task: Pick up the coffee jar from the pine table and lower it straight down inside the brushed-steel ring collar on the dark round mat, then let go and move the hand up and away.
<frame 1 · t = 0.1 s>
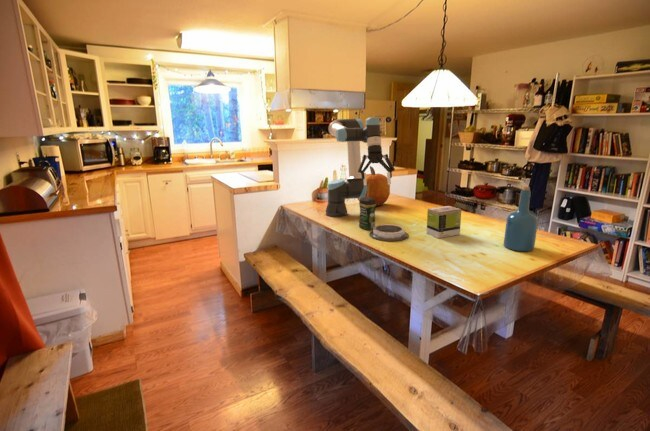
hand: (377, 184, 182), 28 cm above the table, tool tilted 20°, fingers open, 13 cm apart
wine bottle: (518, 248, 164), on the table
ring collar: (388, 235, 186), on the table
coffee jar: (367, 228, 201), on the table
pumpkin: (372, 205, 258), on the table
tea box: (442, 234, 186), on the table
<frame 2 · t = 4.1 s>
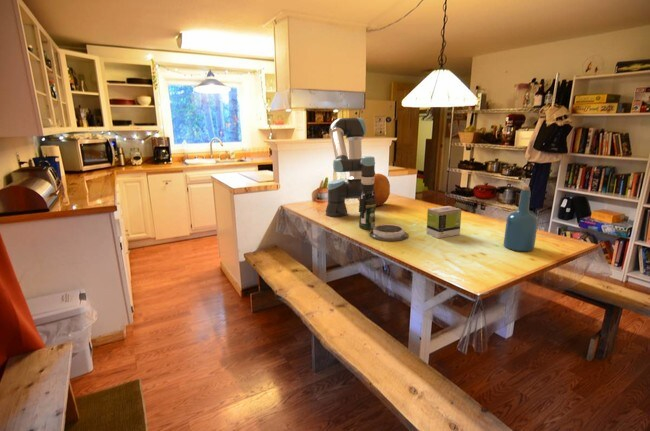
hand: (367, 221, 200), 4 cm above the table, tool pointing down, fingers closed on coffee jar, 8 cm apart
coffee jar: (367, 228, 201), on the table, touching gripper
everything else where it was.
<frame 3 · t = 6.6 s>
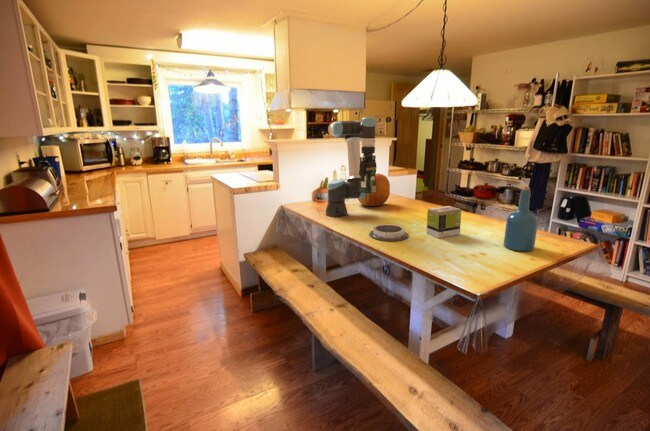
hand: (367, 185, 194), 25 cm above the table, tool pointing down, fingers closed on coffee jar, 8 cm apart
coffee jar: (367, 192, 195), point 21 cm above the table, touching gripper
everything else where it was.
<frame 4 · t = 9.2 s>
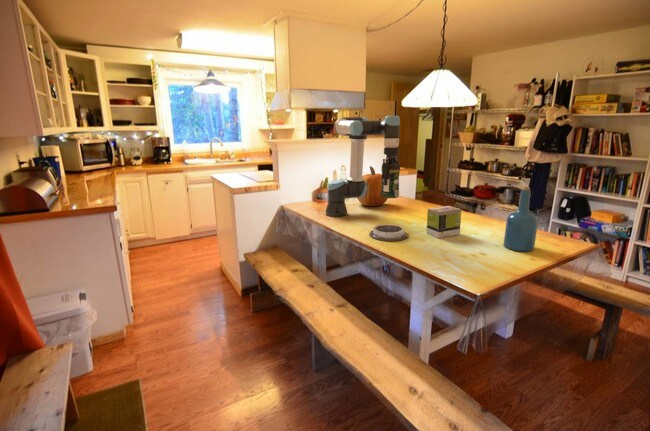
hand: (390, 190, 180), 25 cm above the table, tool pointing down, fingers closed on coffee jar, 8 cm apart
coffee jar: (389, 197, 181), point 21 cm above the table, touching gripper
everything else where it was.
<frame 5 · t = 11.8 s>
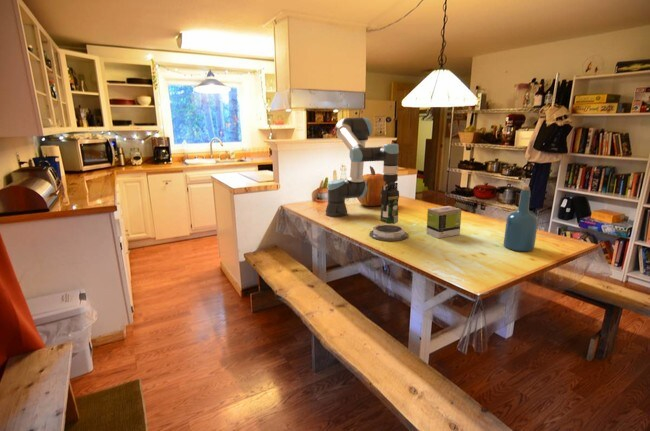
hand: (389, 215, 183), 11 cm above the table, tool pointing down, fingers closed on coffee jar, 8 cm apart
coffee jar: (389, 222, 184), point 7 cm above the table, touching gripper
everything else where it was.
when the fingers open (6 cm above the table, at t = 14.3 s): coffee jar drops 1 cm, resting on ring collar.
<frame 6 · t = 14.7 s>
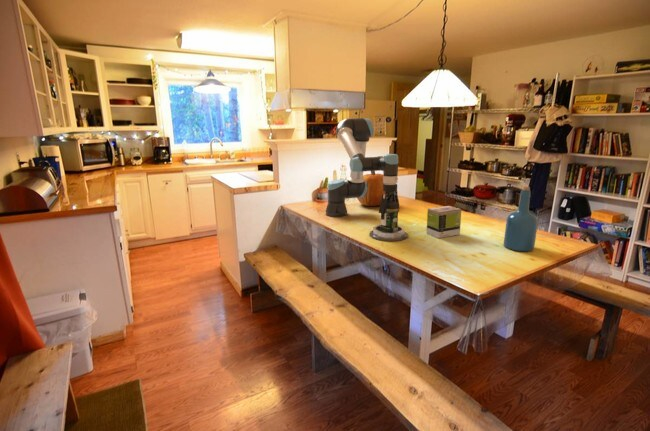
hand: (389, 222, 184), 7 cm above the table, tool pointing down, fingers open, 13 cm apart
coffee jar: (388, 234, 186), point 1 cm above the table, touching ring collar
everything else where it was.
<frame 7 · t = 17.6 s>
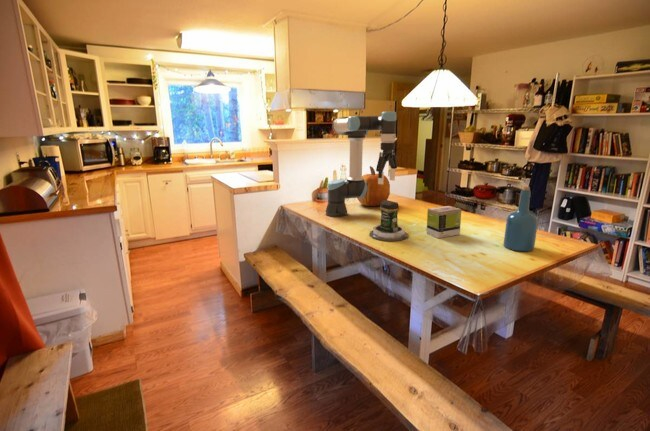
hand: (386, 182, 182), 29 cm above the table, tool pointing down, fingers open, 13 cm apart
nothing on the table moved.
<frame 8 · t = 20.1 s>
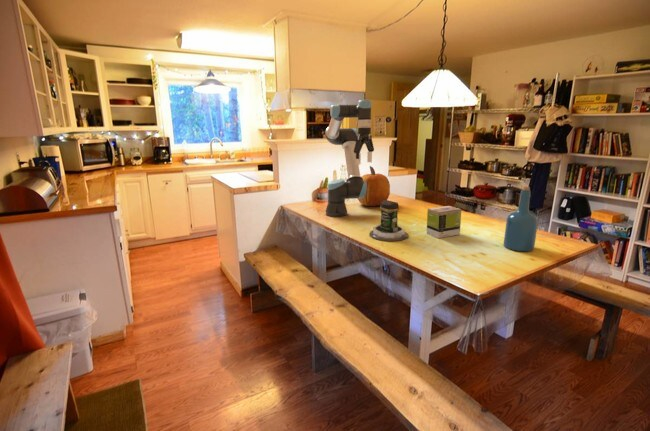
hand: (364, 163, 205), 37 cm above the table, tool pointing down, fingers open, 13 cm apart
nothing on the table moved.
at the end: coffee jar 0.1 cm off-centre on the ring collar, point 0.6 cm above the ring collar's base; coffee jar tilted 0°; the gripper is holding nothing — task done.
